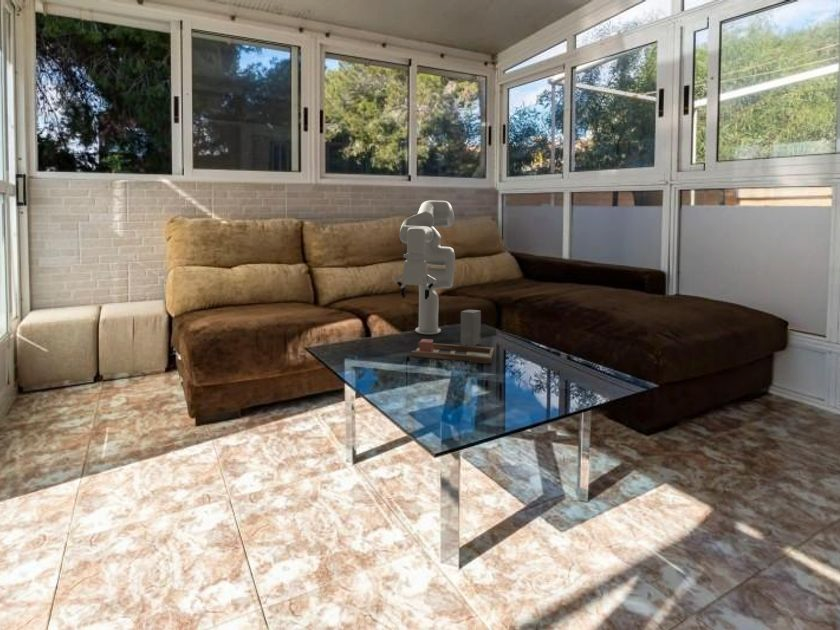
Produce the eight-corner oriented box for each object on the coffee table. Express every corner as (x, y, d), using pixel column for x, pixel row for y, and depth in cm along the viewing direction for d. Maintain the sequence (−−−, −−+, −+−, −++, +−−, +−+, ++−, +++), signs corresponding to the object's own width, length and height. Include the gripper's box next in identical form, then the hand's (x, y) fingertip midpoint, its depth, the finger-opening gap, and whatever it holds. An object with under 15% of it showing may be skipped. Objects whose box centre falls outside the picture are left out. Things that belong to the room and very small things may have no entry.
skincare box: (472, 348, 248) (473, 313, 245) (458, 345, 252) (459, 311, 249) (481, 343, 255) (482, 310, 252) (467, 341, 259) (468, 308, 256)
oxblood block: (421, 350, 241) (422, 338, 240) (433, 350, 240) (433, 339, 239) (419, 353, 237) (419, 341, 236) (431, 354, 236) (431, 342, 235)
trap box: (418, 347, 247) (418, 342, 246) (493, 353, 240) (494, 347, 240) (411, 357, 232) (411, 351, 232) (490, 363, 226) (491, 357, 225)
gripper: (393, 257, 229) (393, 298, 233) (434, 259, 226) (433, 300, 229) (397, 255, 236) (397, 295, 240) (437, 257, 233) (436, 297, 236)
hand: (415, 298), depth 235 cm, fingers open, 9 cm apart
